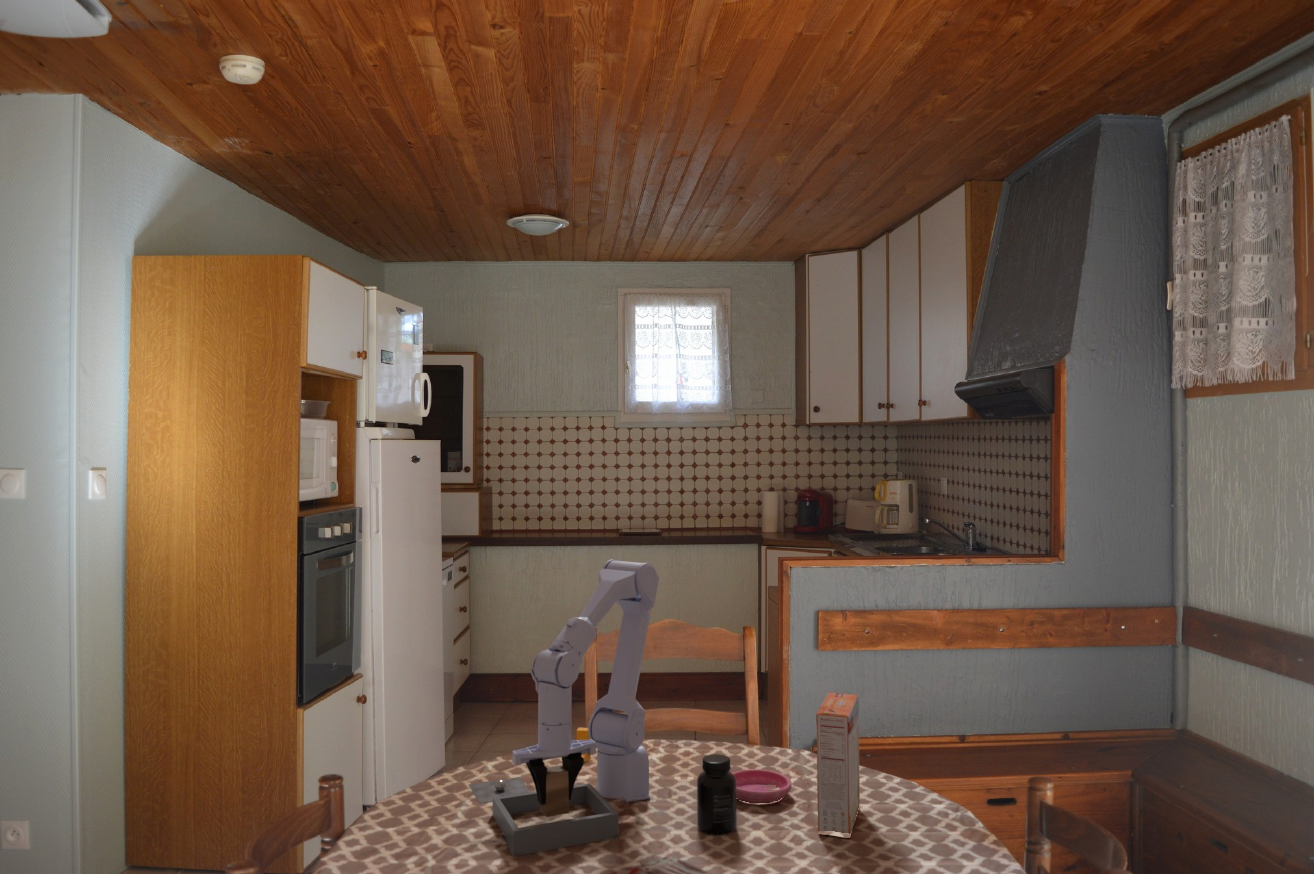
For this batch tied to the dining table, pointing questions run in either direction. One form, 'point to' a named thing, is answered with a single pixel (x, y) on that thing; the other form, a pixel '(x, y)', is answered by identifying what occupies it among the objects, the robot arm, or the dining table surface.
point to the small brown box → (556, 792)
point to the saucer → (760, 785)
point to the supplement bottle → (716, 796)
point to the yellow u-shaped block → (583, 735)
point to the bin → (555, 832)
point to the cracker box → (838, 762)
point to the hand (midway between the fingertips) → (554, 800)
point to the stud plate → (491, 790)
